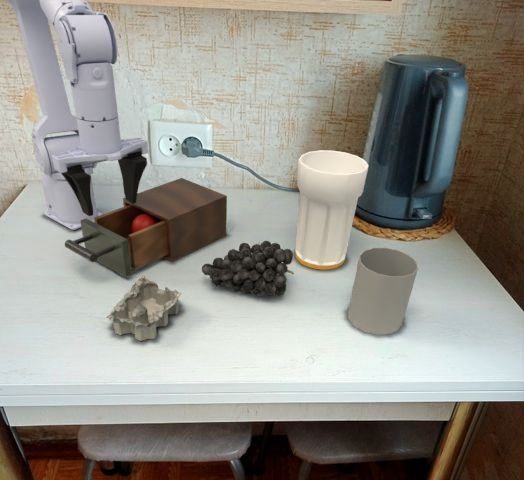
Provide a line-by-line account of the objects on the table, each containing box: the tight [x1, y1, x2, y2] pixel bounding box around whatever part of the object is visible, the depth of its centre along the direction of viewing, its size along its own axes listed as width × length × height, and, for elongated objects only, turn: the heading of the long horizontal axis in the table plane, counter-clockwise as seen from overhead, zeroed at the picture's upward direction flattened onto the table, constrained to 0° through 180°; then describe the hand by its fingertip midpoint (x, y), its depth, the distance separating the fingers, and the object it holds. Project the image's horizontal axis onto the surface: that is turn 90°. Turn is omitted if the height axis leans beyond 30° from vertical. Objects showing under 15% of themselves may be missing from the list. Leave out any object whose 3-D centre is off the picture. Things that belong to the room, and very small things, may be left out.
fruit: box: [201, 240, 295, 298], centre depth 81 cm, size 9×8×15 cm
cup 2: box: [347, 247, 419, 336], centre depth 76 cm, size 8×8×10 cm
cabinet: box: [122, 177, 228, 263], centre depth 93 cm, size 14×12×8 cm
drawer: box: [64, 205, 169, 278], centre depth 86 cm, size 18×10×6 cm, turn 141°
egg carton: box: [105, 275, 182, 342], centre depth 74 cm, size 11×8×4 cm
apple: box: [132, 214, 158, 233], centre depth 89 cm, size 5×5×5 cm
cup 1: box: [294, 149, 370, 271], centre depth 87 cm, size 11×11×17 cm
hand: (110, 207), depth 80 cm, fingers open, 7 cm apart
